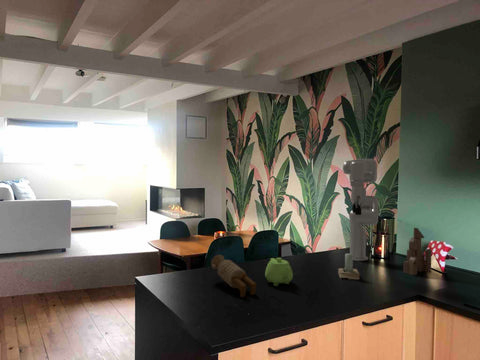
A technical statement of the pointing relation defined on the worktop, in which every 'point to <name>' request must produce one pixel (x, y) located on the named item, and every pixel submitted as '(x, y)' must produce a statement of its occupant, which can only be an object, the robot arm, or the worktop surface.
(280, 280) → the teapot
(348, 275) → the tan rectangular frame
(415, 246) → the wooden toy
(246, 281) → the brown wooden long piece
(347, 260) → the dowel
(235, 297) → the worktop surface
